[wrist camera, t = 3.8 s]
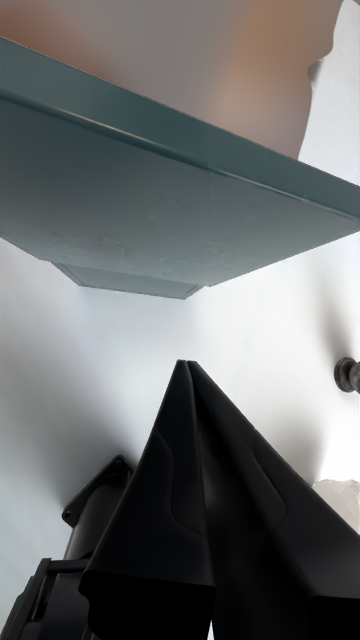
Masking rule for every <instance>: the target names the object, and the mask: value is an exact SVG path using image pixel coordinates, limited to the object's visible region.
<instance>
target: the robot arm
mask: <svg viewBox="0 0 360 640" xmlns="http://www.w3.org/2000/svg"><path fill="white" fill-rule="evenodd" d="M118 460H119V461H121V462H120V463H117V462H116V461H118ZM68 511H70V512H71V513H67V512H68ZM62 519H63V520H64V521H65V522H66V523H67V524H68V525H69V526H71V527H72V528H73V530H72V533H71V536H70V540H69V543H68V546H67V549H66V552H65V555H64V559H63V560H53V561H51V558H42V560H41V562H40V564H39V566H38V568H37V571H36V573H35V575H34V576H31V577H30V579H29V581H28V583H27V586H26V588H25V590H24V592H23V593H21V594H20V595H19V596H18V597H17V599H16V601H15V603H14V606H13V608H12V610H11V612H10V615H9V617H8V619H7V621H6V624H5V626H4V628H3V630H2V633H1V635H0V640H207V638H208V633H209V628H210V623H211V621H212V628H213V636H214V640H360V535H359V534H358V533H357V532H356V531H355V530H354V529H353V528H352V527H351V526H350V525H349V524H348V523H347V522H346V521H345V520H344V519H343V518H342V517H341V516H340V515H339V514H338V513H337V512H336V511H335V510H334V509H333V508H332V507H331V506H330V505H329V504H328V503H327V502H326V501H325V500H324V499H323V498H322V497H321V496H320V495H319V494H318V493H317V492H316V491H315V490H314V489H313V488H312V487H311V486H310V485H309V484H308V483H307V482H306V481H304V480H303V479H302V478H301V477H300V476H299V475H298V474H297V472H296V471H295V470H294V469H293V468H292V467H291V466H290V465H289V464H288V463H287V462H286V461H285V460H284V459H283V458H282V457H281V456H280V455H279V454H278V453H277V452H276V451H275V450H274V448H273V447H272V446H271V445H270V444H269V443H268V442H267V441H266V440H265V439H264V438H263V436H262V435H261V434H260V433H259V432H258V431H257V430H256V429H255V428H254V426H253V425H252V424H251V423H250V422H249V421H248V420H247V418H246V417H245V416H244V415H243V414H242V413H241V412H240V410H239V409H238V408H237V407H236V406H235V405H234V404H233V403H232V401H231V400H230V399H229V398H228V397H227V396H226V395H225V394H224V392H223V391H222V390H221V389H220V388H219V387H218V386H217V384H216V383H215V382H214V381H213V380H212V379H211V378H210V377H209V375H208V374H207V373H206V372H205V371H204V370H203V369H202V368H201V366H200V365H199V364H198V363H197V362H196V361H189V360H188V361H186V360H177V362H176V365H175V368H174V370H173V373H172V376H171V379H170V381H169V384H168V387H167V390H166V392H165V395H164V398H163V401H162V403H161V406H160V409H159V412H158V414H157V417H156V420H155V423H154V426H153V428H152V431H151V433H150V436H149V439H148V441H147V444H146V446H145V449H144V451H143V454H142V456H141V459H140V461H139V463H138V465H137V467H133V466H132V465H131V464H130V463H129V462H128V461H127V460H126V459H125V458H124V457H123V456H122V455H117V456H116V457H115V458H114V459H113V460H112V461H111V462H110V463H109V464H108V465H107V466H106V467H105V468H104V469H103V470H102V471H101V472H100V473H99V474H98V475H97V476H96V477H95V478H94V479H93V480H92V481H91V482H90V483H89V484H88V485H87V486H86V487H85V488H84V489H83V490H82V491H81V492H80V493H79V494H78V495H77V496H76V497H75V498H74V499H73V500H72V501H71V502H70V503H69V504H68V505H67V506H66V507H65V508H64V511H63V513H62Z"/></svg>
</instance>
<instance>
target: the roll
mask: <svg viewBox="0 0 360 640" xmlns="http://www.w3.org/2000/svg"><path fill="white" fill-rule="evenodd" d="M312 488H313V489H314V490H315V491H316V492H317V493H318V494H319V495H320V496H321V497H322V498H323V499H324V500H325V501H326V502H327V503H328V504H329V505H330V506H331V507H332V508H333V509H334V510H335V511H336V512H337V513H338V514H339V515H340V516H341V517H342V518H343V519H344V520H345V521H346V522H347V523H348V524H349V525H350V526H351V527H352V528H353V529H354V530H355V531H356V532H357V533H358V534H359V535H360V483H358V482H357V481H355V480H353V479H350V480H345V481H336V480H328V479H325V480H321V481H318V482H316V483H315V484H314V485H313V486H312Z"/></svg>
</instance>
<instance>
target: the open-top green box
mask: <svg viewBox="0 0 360 640" xmlns="http://www.w3.org/2000/svg"><path fill="white" fill-rule="evenodd" d="M51 263H52V264H54V265H55V266H56V267H57V268H58V269H60V270H61V271H62V272H63V273H64V274H66V275H67V276H68V277H69V278H70V279H71V280H73V281H74V282H75V283H76V284H77V285H79V286H85V287H92V288H100V289H108V290H115V291H123V292H130V293H138V294H145V295H153V296H161V297H168V298H176V299H183V300H185V299H186V298H188V297H189V296H191V295H192V294H194V293H195V292H197V291H198V290H200V289H201V288H203V287H204V286H202V285H196V284H190V283H183V282H177V281H171V280H164V279H158V278H152V277H145V276H139V275H133V274H126V273H120V272H114V271H107V270H101V269H95V268H88V267H82V266H76V265H69V264H63V263H57V262H51Z"/></svg>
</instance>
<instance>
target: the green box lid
mask: <svg viewBox="0 0 360 640" xmlns="http://www.w3.org/2000/svg"><path fill="white" fill-rule="evenodd" d="M358 231H360V186H358V185H355V184H353V183H350V182H348V181H346V180H343V179H341V178H338V177H336V176H334V175H331V174H329V173H327V172H324V171H322V170H319V169H317V168H315V167H312V166H310V165H307V164H305V163H303V162H300V161H298V160H296V159H293V158H291V157H288V156H286V155H284V154H281V153H279V152H277V151H274V150H272V149H269V148H267V147H264V146H262V145H260V144H257V143H255V142H253V141H250V140H248V139H245V138H243V137H241V136H238V135H236V134H233V133H231V132H229V131H226V130H224V129H222V128H219V127H217V126H214V125H212V124H210V123H207V122H205V121H202V120H200V119H198V118H195V117H193V116H191V115H188V114H186V113H184V112H181V111H179V110H176V109H174V108H171V107H169V106H167V105H164V104H162V103H160V102H157V101H155V100H152V99H150V98H148V97H145V96H143V95H140V94H138V93H136V92H133V91H131V90H129V89H126V88H124V87H122V86H119V85H117V84H114V83H112V82H110V81H107V80H105V79H102V78H100V77H98V76H95V75H93V74H90V73H88V72H86V71H83V70H80V69H79V68H76V67H74V66H72V65H69V64H67V63H64V62H62V61H60V60H57V59H55V58H52V57H50V56H48V55H45V54H43V53H40V52H38V51H36V50H33V49H31V48H28V47H26V46H24V45H21V44H19V43H17V42H14V41H12V40H9V39H7V38H5V37H2V36H0V237H1V238H2V239H4V240H6V241H8V242H9V243H11V244H13V245H15V246H16V247H18V248H20V249H22V250H24V251H25V252H27V253H29V254H31V255H32V256H34V257H36V258H38V259H39V260H44V261H50V262H57V263H63V264H69V265H76V266H82V267H88V268H95V269H101V270H107V271H114V272H120V273H126V274H133V275H139V276H145V277H152V278H158V279H164V280H171V281H177V282H183V283H190V284H196V285H202V286H209V287H211V286H214V285H217V284H219V283H222V282H225V281H227V280H230V279H233V278H235V277H238V276H241V275H243V274H246V273H249V272H251V271H254V270H257V269H259V268H262V267H265V266H267V265H270V264H273V263H275V262H278V261H281V260H284V259H286V258H289V257H292V256H294V255H297V254H300V253H302V252H305V251H308V250H310V249H313V248H316V247H318V246H321V245H324V244H326V243H329V242H332V241H334V240H337V239H340V238H342V237H345V236H348V235H350V234H353V233H356V232H358Z"/></svg>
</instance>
